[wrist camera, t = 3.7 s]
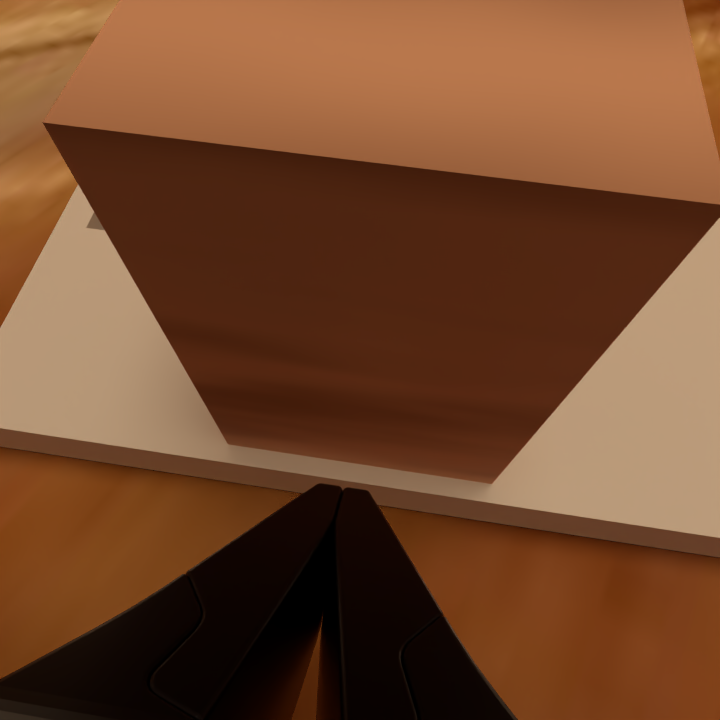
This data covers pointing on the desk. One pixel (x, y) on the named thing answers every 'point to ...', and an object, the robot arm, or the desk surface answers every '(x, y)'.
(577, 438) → the plate
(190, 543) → the desk surface
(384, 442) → the terracotta block
